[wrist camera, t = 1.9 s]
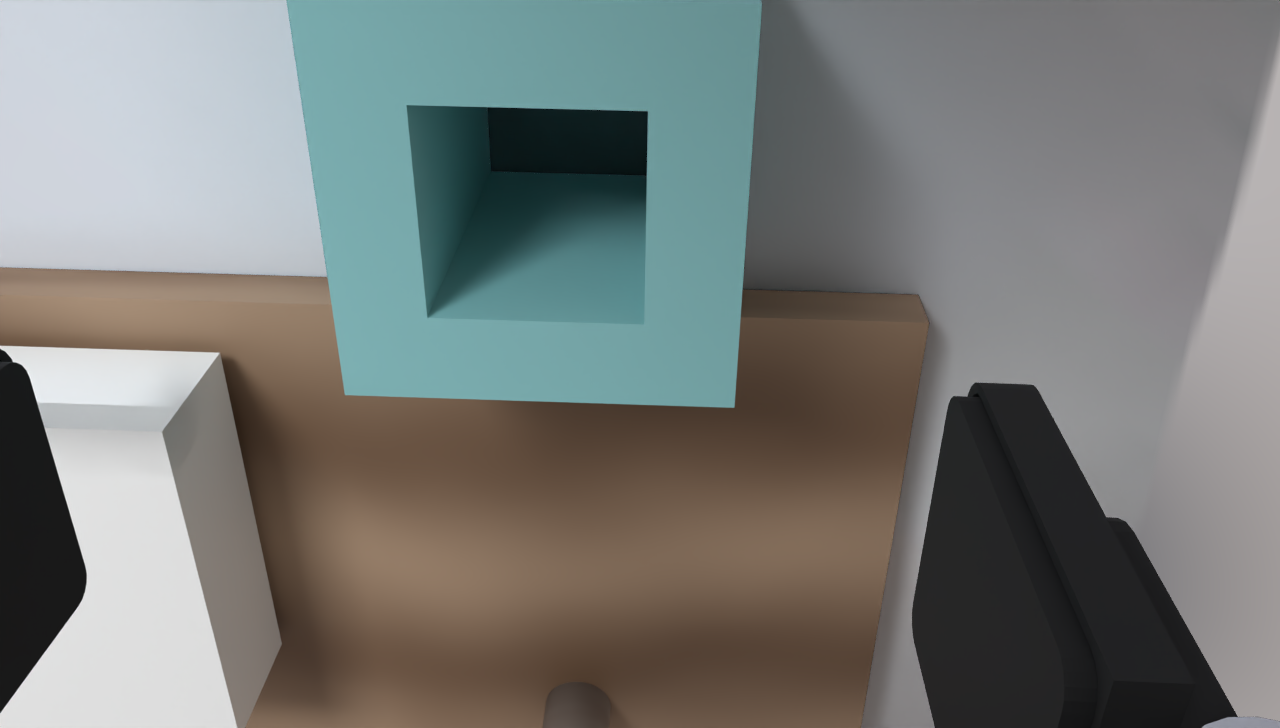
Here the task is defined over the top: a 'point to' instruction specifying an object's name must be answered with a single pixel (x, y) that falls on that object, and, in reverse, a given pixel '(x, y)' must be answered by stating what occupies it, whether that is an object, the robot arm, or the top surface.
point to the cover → (150, 546)
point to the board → (545, 514)
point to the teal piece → (530, 197)
